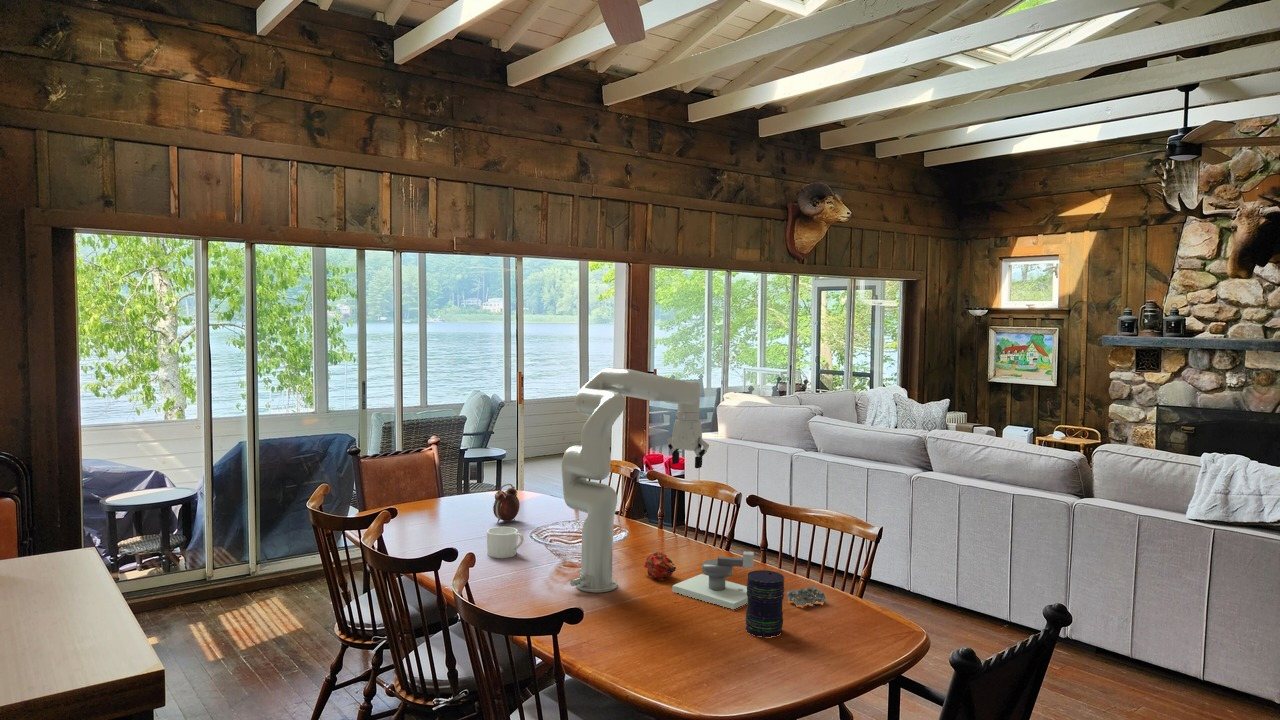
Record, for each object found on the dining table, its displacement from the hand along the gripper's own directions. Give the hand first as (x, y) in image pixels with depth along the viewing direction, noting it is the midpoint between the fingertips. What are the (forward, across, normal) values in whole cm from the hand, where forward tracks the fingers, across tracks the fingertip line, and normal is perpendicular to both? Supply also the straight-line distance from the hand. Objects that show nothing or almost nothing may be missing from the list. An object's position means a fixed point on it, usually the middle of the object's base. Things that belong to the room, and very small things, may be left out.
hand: (686, 465), depth 280 cm
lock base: (+31, +31, -26) cm, 51 cm away
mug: (+32, -44, -43) cm, 69 cm away
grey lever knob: (+24, +33, -24) cm, 48 cm away
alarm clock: (+31, -76, -15) cm, 84 cm away
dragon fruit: (+32, +9, -25) cm, 41 cm away
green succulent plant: (+32, +54, -13) cm, 64 cm away
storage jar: (+31, +56, -40) cm, 76 cm away
